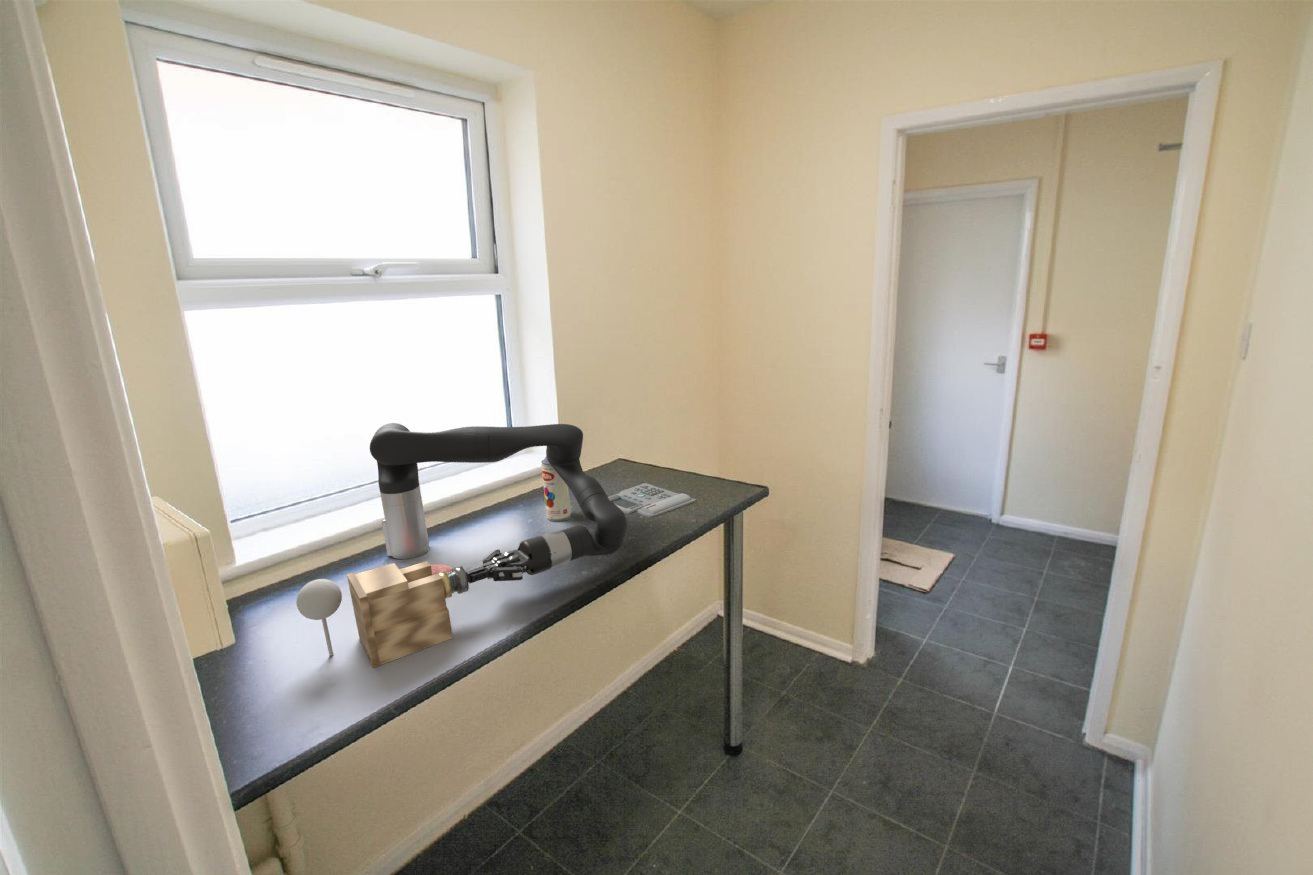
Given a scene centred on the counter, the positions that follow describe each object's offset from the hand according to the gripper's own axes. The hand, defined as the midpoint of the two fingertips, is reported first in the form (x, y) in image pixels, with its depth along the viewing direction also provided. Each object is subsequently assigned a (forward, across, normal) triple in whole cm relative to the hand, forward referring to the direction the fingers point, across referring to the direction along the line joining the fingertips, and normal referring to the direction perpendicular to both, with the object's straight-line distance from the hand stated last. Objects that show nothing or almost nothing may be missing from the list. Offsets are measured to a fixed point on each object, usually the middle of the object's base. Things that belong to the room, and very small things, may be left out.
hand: (466, 577), depth 121 cm
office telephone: (-64, -29, +9) cm, 71 cm away
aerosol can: (-38, -36, +8) cm, 53 cm away
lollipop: (+25, -4, +8) cm, 27 cm away
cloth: (+8, -24, +9) cm, 27 cm away
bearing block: (+13, 0, +8) cm, 15 cm away
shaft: (+9, 0, +3) cm, 10 cm away
